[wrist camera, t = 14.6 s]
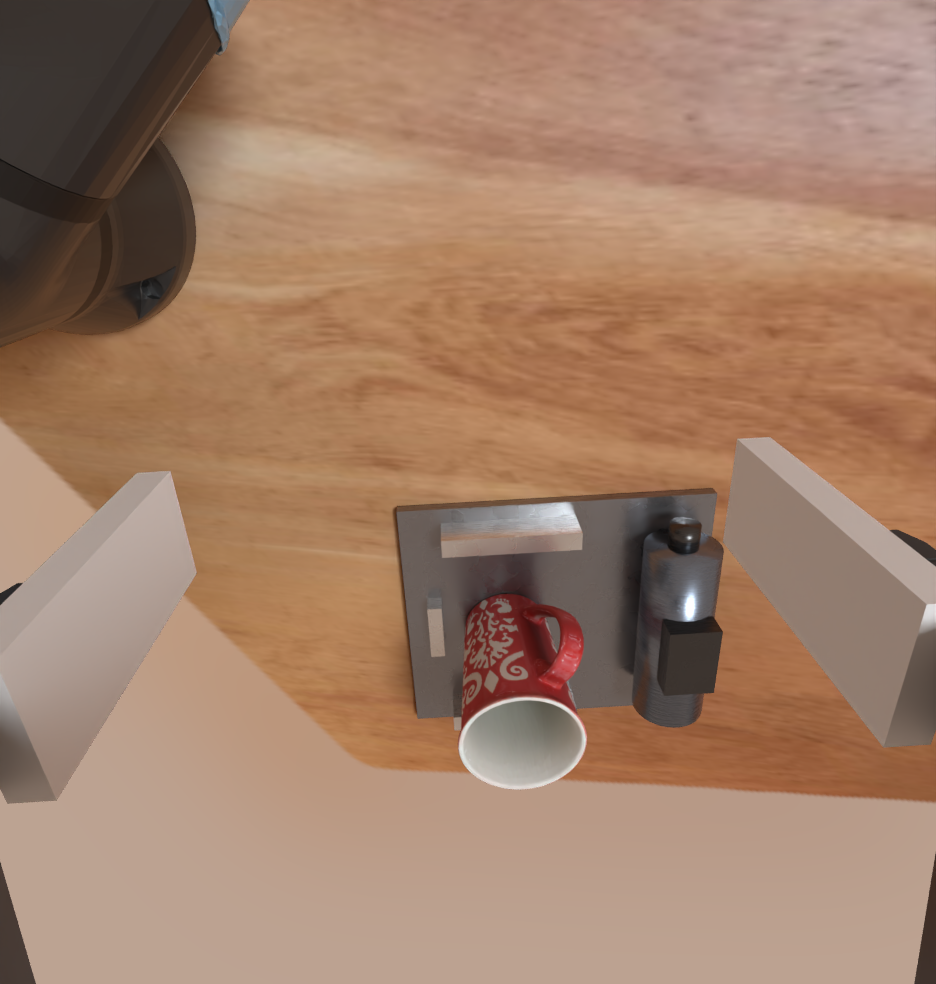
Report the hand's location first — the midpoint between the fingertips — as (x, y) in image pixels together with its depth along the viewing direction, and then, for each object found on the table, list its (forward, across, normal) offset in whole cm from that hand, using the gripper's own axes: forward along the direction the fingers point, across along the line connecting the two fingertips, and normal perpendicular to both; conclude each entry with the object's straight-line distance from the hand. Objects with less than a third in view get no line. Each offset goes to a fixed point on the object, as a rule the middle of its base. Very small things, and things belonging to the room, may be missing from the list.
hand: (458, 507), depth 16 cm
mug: (+34, +5, -28) cm, 44 cm away
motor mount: (+35, +8, -28) cm, 45 cm away
